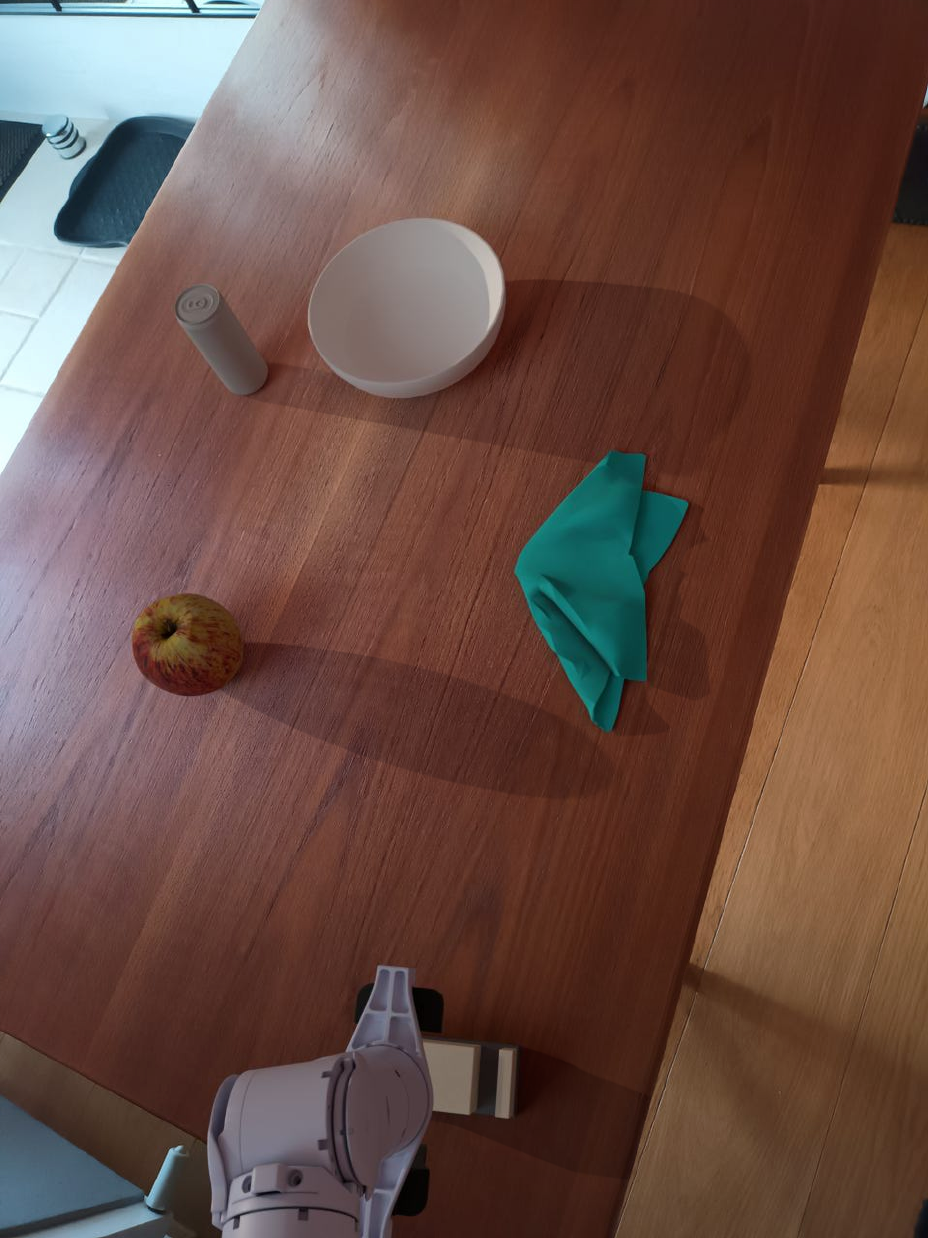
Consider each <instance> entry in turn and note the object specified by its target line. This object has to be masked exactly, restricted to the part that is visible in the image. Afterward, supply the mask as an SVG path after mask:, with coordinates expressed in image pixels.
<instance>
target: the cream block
mask: <svg viewBox="0 0 928 1238" xmlns="http://www.w3.org/2000/svg"><path fill="white" fill-rule="evenodd" d="M421 1037H422V1041H423V1046H424V1050H425V1055H426V1059H427V1063H428V1068H429V1072H430V1077H431V1081H432V1086H433V1094H434V1104H433V1111H434V1112H441V1113H449V1114H457V1115H458V1114H459V1115H467V1116H470V1115H472V1114H479V1115H480V1114H481V1115H487V1116H494V1117H495V1118H499V1119H510V1118H511V1119H515V1118H516V1117H517V1116H518V1099H519V1085H520V1084H519V1082H520V1068H521V1067H520V1066H521V1050H522V1049H521V1048H522V1046H521V1044H514V1043H513V1044H512V1043H505V1042H504V1043H503V1042H493V1041H485V1040H475V1039H467V1038H466V1039H465V1038H456V1037H448V1036H447V1037H446V1036H439V1035H438V1036H437V1035H430V1034H429V1035H428V1034H421ZM433 1111H432V1112H433Z"/></svg>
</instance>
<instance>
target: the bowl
mask: <svg viewBox="0 0 928 1238" xmlns="http://www.w3.org/2000/svg"><path fill="white" fill-rule="evenodd" d="M506 293H507V291H506V280H505V272H504V269H503V266H502V264H501V260H500V258H499V256H498V255H497V253H496V252H495V251H494V249H493V247H492V246H491V245H490V243H489V242H487V241H486V240H485V239H484V238H483V237H482V236H481V235H479V233H478V232H477V233H476V232H475V231H473V230H472V229H471V228H468V227H466V226H464V225H463V224H459V223H455V222H454V221H450V220H447V219H441V218H432V217H414V218H413V217H412V218H411V217H410V218H405V219H401V220H395V221H391V222H388V223H385V224H382V225H379V226H376V227H373V228H372V229H370V230H368V231H366V232H365V233H362V234H360V235H359V236H357V237H356V238H354V239H353V240H351V241H350V242H349V243H348V244H346V245H345V246H344V247H342V248H341V249H340V250H339V251H338V252H337V253H336V254H335V255H334V256H333V257H332V258H331V259H330V260H328V263H327V264H326V266H324V268H323V270H322V271H321V273H320V274H319V276H318V277H317V280H316V282H315V284H314V286H313V289H312V291H311V294H310V299H309V302H308V307H307V326H308V330H309V334H310V339H311V341H312V343H313V345H314V348H315V349H316V351H317V353H318V355H319V356H321V358H322V359H323V361H324V362H325V363H326V365H327V366H328V367H329V368H330V369H331V370H332V371H333V372H334V373H335V375H337V376H338V377H339V378H341V379H342V380H344V381H345V382H347V383H348V384H350V385H351V386H354V388H356V389H358V390H361V391H363V392H365V393H367V394H371V395H373V396H378V397H382V398H388V399H410V398H416V397H423V396H427V395H430V394H433V393H435V392H439V391H442V390H444V389H446V388H448V387H451V386H452V385H454V384H456V383H458V382H459V381H461V380H462V379H464V378H465V377H466V376H468V374H470V373H471V372H473V371H474V370H475V369H476V368H477V367H478V366H479V365H480V363H481V362H482V361H483V360H484V359H485V358H486V357H487V355H488V354H489V352H490V351H491V349H492V347H493V346H494V344H495V343H496V340H497V338H498V335H499V332H500V329H501V327H502V324H503V320H504V317H505V311H506V304H507V294H506Z"/></svg>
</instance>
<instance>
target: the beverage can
mask: <svg viewBox="0 0 928 1238" xmlns="http://www.w3.org/2000/svg"><path fill="white" fill-rule="evenodd" d="M173 312H174V315H175V317H176V320H177V322H178V324H179V325H180V327H181V329H183V331H184V332H185V333H186V335H187V336H188V338H189V339H190V340H191V342H192V343H193V345H195V347H196V349H197V350H198V351H199V352H200V354H201V355H202V356H203V358H204V359H205V361H206V362H207V363H208V365H209V366H210V368H211V369H212V370H213V372H214V373H215V374H216V375H217V377H218V379H219V380H220V381H221V382H222V383H223V385H224V386H225V387H226V389H227V390H228V391H229V392H231V393H233V394H235V395H240V396H246V395H247V396H248V395H251V394H252V395H253V394H254V393H256V392H258V391H259V390H260V389H261V388H262V387H263V386H264V384H265V382H266V380H267V379H268V374H269V369H268V368H269V367H268V365H267V362H266V361H265V360H264V358H263V357H262V354H261V353H260V352H259V350H258V348H257V347H256V346H255V344H254V342H253V340H251V338H250V336H249V335H248V333H247V332H246V330H245V328H244V327H243V325H242V323H241V322H240V320H239V319H238V317H237V316H236V314H235V312H234V310H232V308H231V306H230V305H229V303H228V302H227V300H226V298H225V297H224V295H223V294H222V293H221V291H219V290H218V289H217V288H216V287H215V286H213V285H212V284H209V283H206V282H205V283H203V282H200V283H195V284H192V285H190V286H188V287H186V288H185V289H183V290H182V291H181V292H180V293H179V294H178V296H177V297H176V299H175V301H174V305H173Z"/></svg>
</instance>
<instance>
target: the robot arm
mask: <svg viewBox="0 0 928 1238" xmlns="http://www.w3.org/2000/svg"><path fill="white" fill-rule="evenodd" d="M416 979H417V968H416V967H415V968H414V967H405V966H397V965H396V966H395V965H381V964H380V965H379V964H378V965H377V970H376V976H375V981H374V982H370V983H367V984H365V985H364V986H362V987H361V988H360V989H359V991H358V992H357V995H356V1000H355V1008H354V1019H353V1022H354V1024H355V1025H356V1028H355V1030H354V1032H353V1034H352V1037H351V1039H350V1041H349V1043H348V1045H347V1048H346V1049H345V1052H344V1051H343V1052H341V1053H336V1054H332V1055H328V1056H322V1057H320V1058H316V1059H313V1060H312V1061H311V1060H310V1061H304V1062H297V1063H289V1064H284V1065H277V1066H270V1067H263V1068H262V1067H261V1068H256V1069H249V1070H246V1071H244V1072H242V1073H241V1074H238V1073H237V1074H231V1075H229V1076H228V1077H226V1078H225V1079H224V1080H223V1082H222V1083H221V1084H220V1086H219V1088H218V1089H217V1092H216V1095H215V1098H214V1101H213V1105H212V1109H211V1114H210V1120H209V1125H208V1130H207V1144H206V1145H207V1165H208V1166H207V1167H208V1173H209V1180H210V1185H211V1206H210V1213H211V1215H212V1217H211V1218H212V1219H211V1224H212V1226H214V1227H216V1228H217V1229H219V1230H220V1231H222V1232H221V1233H222V1234H221V1238H392V1235H393V1234H392V1232H393V1219H392V1217H391V1216H394V1217H396V1216H404V1217H417V1216H418V1215H420V1214H422V1212H424V1211H425V1209H426V1208H427V1206H428V1201H429V1200H428V1199H429V1188H430V1178H431V1177H430V1176H431V1171H430V1168H429V1167H427V1166H426V1163H427V1153H428V1145H427V1144H426V1143H422V1141H423V1138H424V1136H425V1134H426V1132H427V1130H428V1127H429V1124H430V1121H431V1119H432V1115H433V1104H434V1094H433V1086H432V1081H431V1077H430V1072H429V1068H428V1063H427V1059H426V1055H425V1050H424V1046H423V1041H422V1037H421V1035H422V1033H421V1032H424V1033H435V1034H442V1033H443V1024H444V1014H445V1013H444V1011H445V999H444V995H443V994H442V993H441V992H439V991H438V990H436V989H433V988H428V987H419V986H415V985H416Z"/></svg>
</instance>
